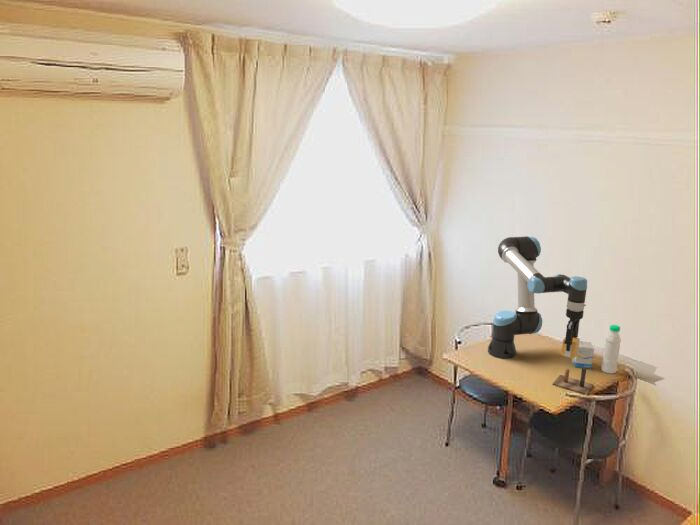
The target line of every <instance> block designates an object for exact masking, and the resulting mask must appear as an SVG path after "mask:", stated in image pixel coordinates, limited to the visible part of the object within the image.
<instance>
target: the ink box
mask: <svg viewBox="0 0 700 525" xmlns="http://www.w3.org/2000/svg"><path fill="white" fill-rule="evenodd" d="M594 353H595V347H594V346H593V344H592V342H591V341H581V340H579V348H578V355H577V356H576V357H575V358H571V362H572V364H573V367H575V368H581V369H583V368H584V369H589V370H590V369H592V367H593V359H594Z"/></svg>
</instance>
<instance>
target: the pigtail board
mask: <svg viewBox="0 0 700 525" xmlns="http://www.w3.org/2000/svg"><path fill="white" fill-rule="evenodd" d="M580 372H581V373H580V379H577V378H573V377H571V376H570V377H569V375H570V369H569V368H565V369H564V375H563V374H559V375H558V377H556V379H555V380H554V381H553V382H552V386H554V385H555V387H558V388H561V387H562V389H564V388H565V389H564V390H569V391H572V392H575V393H578V394H581V393H582V395H584V394H587V395H589V393H590V392H591V390H592V389H593V388H594V383H591V382H587V381H586V375H587V374H586V373H587V368H581V371H580Z"/></svg>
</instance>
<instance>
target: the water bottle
mask: <svg viewBox="0 0 700 525" xmlns="http://www.w3.org/2000/svg"><path fill="white" fill-rule="evenodd" d="M620 331H621V326H619V325H616V324H611V325H610V326H609V332H608V333H607V335H606V336H605V342H604V348H603V356H602V359H601V360H602V361H601V366H600V369H601V371H602V372H603V373H605V374H616V372H617V367H618V366H617V365H618V358H619V354H620V348H621V342H622V339H621V336H620V334H619V333H620Z"/></svg>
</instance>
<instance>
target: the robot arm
mask: <svg viewBox="0 0 700 525" xmlns="http://www.w3.org/2000/svg"><path fill="white" fill-rule="evenodd" d="M541 250H542V247H541V243H540V241H539V240H538V239H537V238H536V237H534V236H529V235H527V236H510V237H506V238H504V239H503V240H502V241H500V242H499V244H498V247H497V254H498V257H499V258H500V259H501V260H502V261H503V262H504V263H508V264H509V265H510V266H511V267H512V268H513V270H515V271H516V272H517V307H516V308H515V311H512V310H500V311H498V312H496V313H495V314H494V316H493V320H492V323H493V324H492V334H491V335H492V336H491V340H490V342H489V344H488V346H487V352H488V354H489V355H491V356H493V357H495V358H498V359H512V358H514V357H516V355H517V349H516V344H515V336H520V335H533V334H537V333H539V332H540V330H542V327H543V318H542V315H541V313H539V312H538V309H537V308H536V306H535V294H538V295H539V294H546V293H547V294H548V293H561V292H562V293H565V294H567V295H568V296H567V302H566V310H565V311H566V312H565V316H566V317H567V318H568V319H569V320H568V322H567V324H566V330H565V331H566V332H565V337H566V338H565V337H564V338H565V342H564V344H566V347H565V355H564V357H567V358H571V350H572V340H573V337H574V338H579V337H578V336H579V329H580V321H581V319H583V317H584V312H585V311H584V309H585V307H586V306H587V305H586V303H585V302H586V297H587V290H588V280H587V278H586V277H583V276H572V277H569V276H567V275H565V274H561V273H557V274H556V275H553V276H546V277H545V276H544V275H543V274H542V273H541V272H540V271H538V269H536V268H535V267H534V266H535V263H536V262H537V258H538V257H539V256H540V255H541V252H542V251H541Z"/></svg>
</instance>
